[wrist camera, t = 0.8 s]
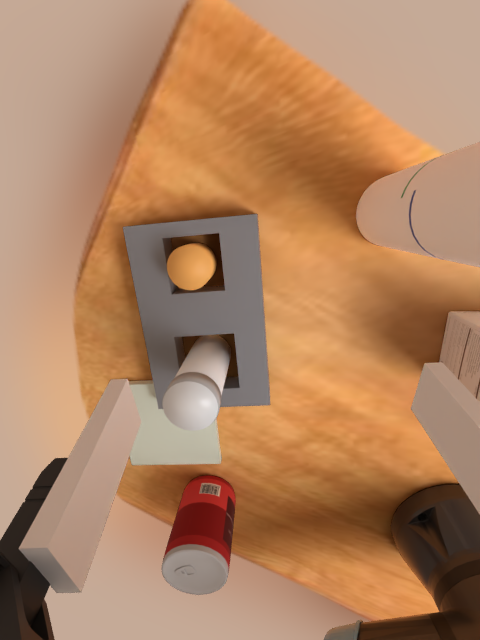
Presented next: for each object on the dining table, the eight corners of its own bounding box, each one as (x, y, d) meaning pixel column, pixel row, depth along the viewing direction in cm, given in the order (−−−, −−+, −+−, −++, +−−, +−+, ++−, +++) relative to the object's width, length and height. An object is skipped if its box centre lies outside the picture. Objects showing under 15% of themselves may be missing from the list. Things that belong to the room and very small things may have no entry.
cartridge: (233, 370, 39) (221, 430, 28) (194, 371, 40) (166, 432, 28) (229, 332, 38) (215, 380, 26) (188, 334, 38) (157, 382, 27)
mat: (221, 458, 44) (220, 463, 43) (134, 460, 45) (131, 465, 44) (210, 377, 40) (209, 381, 39) (115, 381, 41) (112, 385, 40)
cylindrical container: (351, 245, 34) (563, 303, 10) (361, 173, 31) (666, 26, 8) (418, 247, 33) (809, 315, 9) (433, 175, 31) (994, 25, 7)
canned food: (173, 486, 46) (147, 563, 36) (217, 465, 44) (202, 540, 34) (203, 519, 48) (186, 603, 37) (245, 501, 46) (240, 583, 36)
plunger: (218, 281, 34) (213, 288, 31) (180, 284, 35) (170, 291, 31) (214, 240, 33) (208, 243, 29) (174, 244, 33) (163, 247, 30)
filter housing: (269, 391, 40) (270, 405, 37) (165, 396, 41) (158, 409, 38) (257, 214, 33) (257, 213, 30) (134, 226, 35) (122, 226, 32)
